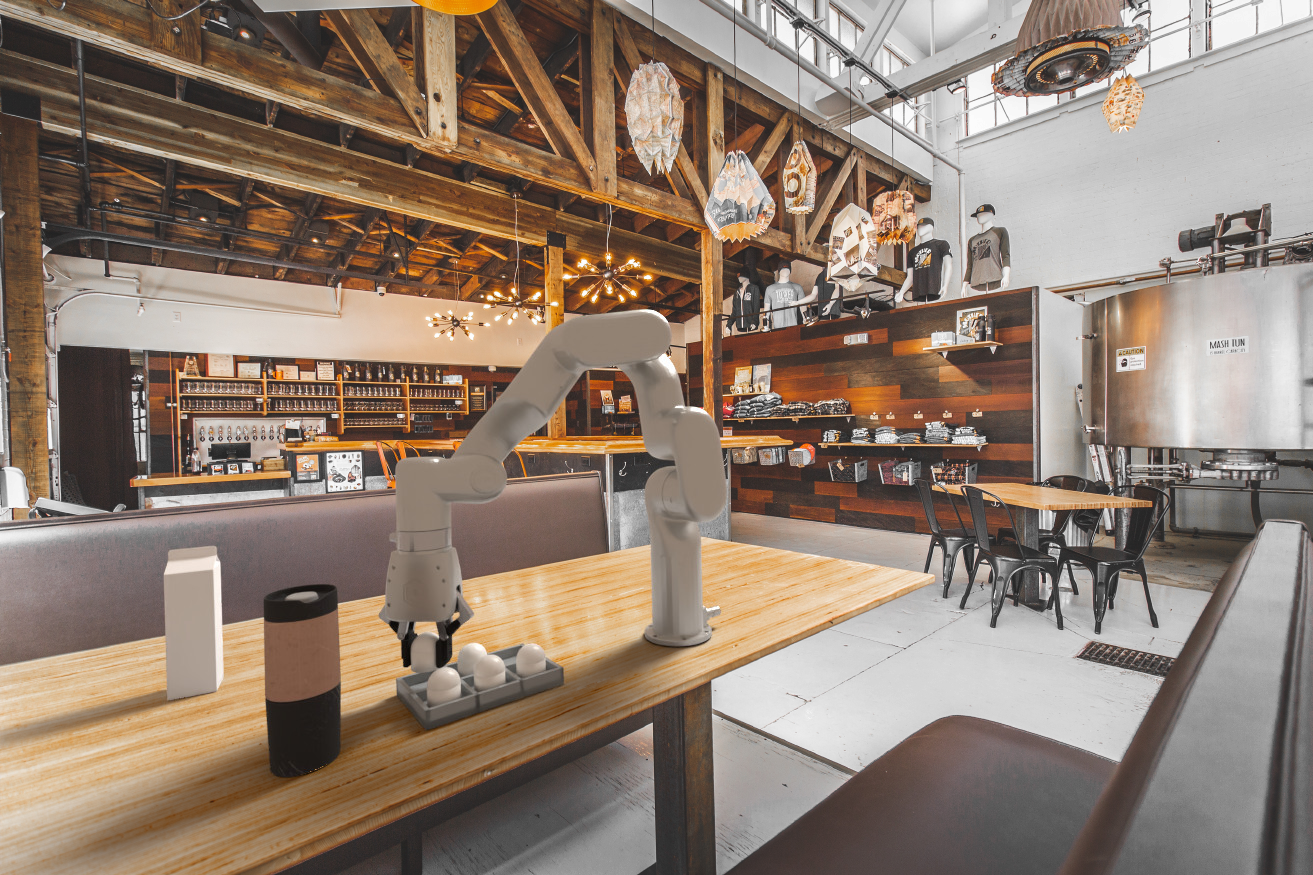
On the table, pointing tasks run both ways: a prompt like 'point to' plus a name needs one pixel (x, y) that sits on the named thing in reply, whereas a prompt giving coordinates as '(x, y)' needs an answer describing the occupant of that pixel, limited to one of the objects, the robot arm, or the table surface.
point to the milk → (193, 622)
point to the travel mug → (302, 678)
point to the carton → (477, 683)
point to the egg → (424, 653)
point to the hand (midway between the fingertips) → (427, 662)
